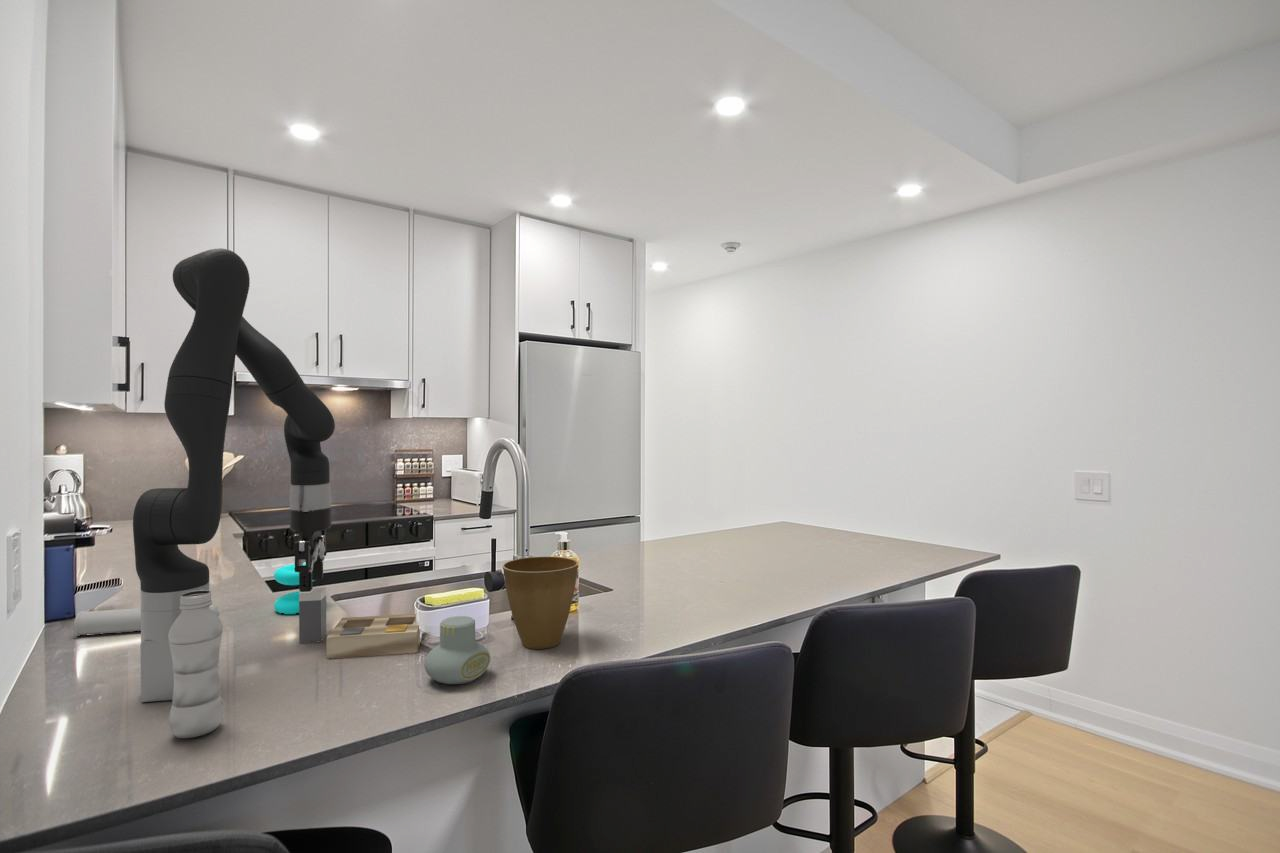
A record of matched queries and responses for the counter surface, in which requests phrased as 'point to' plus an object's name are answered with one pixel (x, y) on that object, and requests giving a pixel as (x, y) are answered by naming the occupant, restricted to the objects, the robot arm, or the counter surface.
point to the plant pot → (540, 597)
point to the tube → (111, 621)
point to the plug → (312, 615)
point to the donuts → (290, 600)
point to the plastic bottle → (195, 667)
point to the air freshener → (457, 653)
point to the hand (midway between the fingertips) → (311, 585)
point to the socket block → (374, 636)
